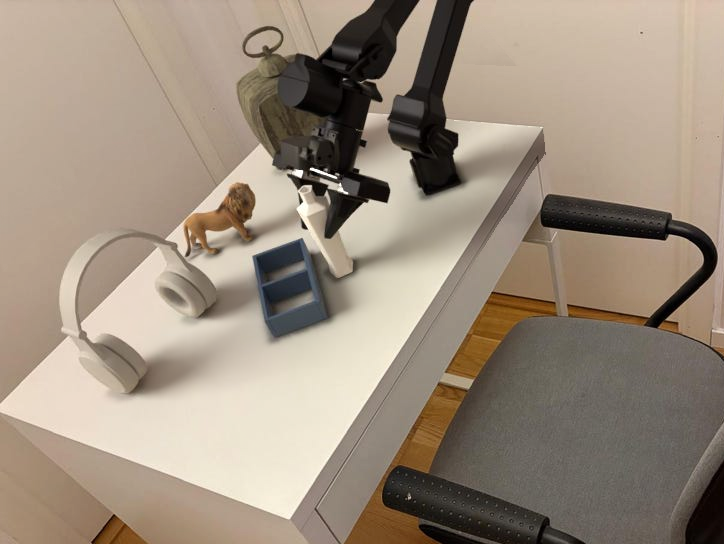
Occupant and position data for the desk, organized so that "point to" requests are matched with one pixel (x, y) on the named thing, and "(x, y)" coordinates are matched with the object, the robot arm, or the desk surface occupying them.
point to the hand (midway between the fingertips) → (316, 233)
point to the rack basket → (288, 288)
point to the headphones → (108, 352)
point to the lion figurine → (222, 218)
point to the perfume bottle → (315, 220)
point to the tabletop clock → (270, 99)
